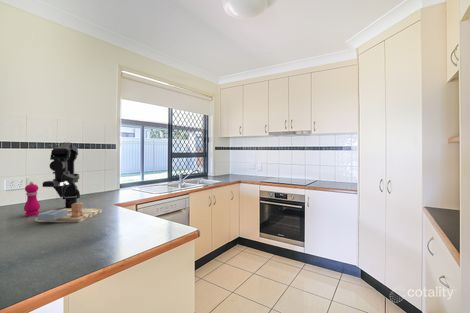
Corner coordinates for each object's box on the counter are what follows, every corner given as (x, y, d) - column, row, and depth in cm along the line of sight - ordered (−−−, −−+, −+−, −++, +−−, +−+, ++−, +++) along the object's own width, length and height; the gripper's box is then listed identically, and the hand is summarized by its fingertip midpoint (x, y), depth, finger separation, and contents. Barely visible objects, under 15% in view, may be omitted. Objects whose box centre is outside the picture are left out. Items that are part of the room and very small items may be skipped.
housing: (51, 215, 128) (51, 209, 128) (67, 215, 128) (67, 209, 128) (37, 219, 119) (37, 214, 119) (54, 220, 119) (54, 214, 119)
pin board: (64, 211, 143) (64, 208, 143) (101, 212, 142) (101, 208, 142) (35, 221, 123) (35, 218, 123) (78, 222, 122) (78, 218, 122)
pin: (76, 218, 129) (76, 202, 129) (82, 218, 129) (82, 202, 129) (71, 220, 126) (71, 204, 125) (77, 220, 126) (77, 204, 125)
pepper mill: (30, 217, 131) (29, 182, 131) (20, 216, 133) (19, 182, 132) (43, 213, 138) (42, 180, 138) (33, 213, 140) (33, 180, 139)
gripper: (61, 171, 119) (62, 201, 120) (86, 168, 138) (86, 194, 138) (41, 171, 120) (41, 200, 120) (68, 168, 138) (68, 193, 139)
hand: (61, 197), depth 129 cm, fingers closed
